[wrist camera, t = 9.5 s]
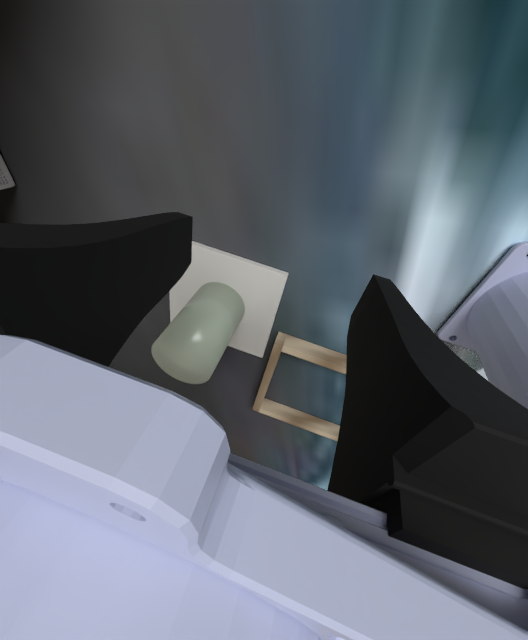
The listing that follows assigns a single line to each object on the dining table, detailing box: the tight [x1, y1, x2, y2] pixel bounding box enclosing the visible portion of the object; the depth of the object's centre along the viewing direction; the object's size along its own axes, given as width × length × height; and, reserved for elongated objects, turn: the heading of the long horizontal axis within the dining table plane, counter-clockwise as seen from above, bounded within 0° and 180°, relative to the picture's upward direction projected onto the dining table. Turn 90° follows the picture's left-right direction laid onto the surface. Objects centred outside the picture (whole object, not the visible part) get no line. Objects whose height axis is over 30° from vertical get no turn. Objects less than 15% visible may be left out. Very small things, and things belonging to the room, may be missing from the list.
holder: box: [252, 332, 347, 441], centre depth 29 cm, size 12×12×2 cm
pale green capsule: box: [152, 282, 245, 384], centre depth 23 cm, size 6×5×7 cm
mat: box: [169, 241, 289, 358], centre depth 25 cm, size 10×10×1 cm
